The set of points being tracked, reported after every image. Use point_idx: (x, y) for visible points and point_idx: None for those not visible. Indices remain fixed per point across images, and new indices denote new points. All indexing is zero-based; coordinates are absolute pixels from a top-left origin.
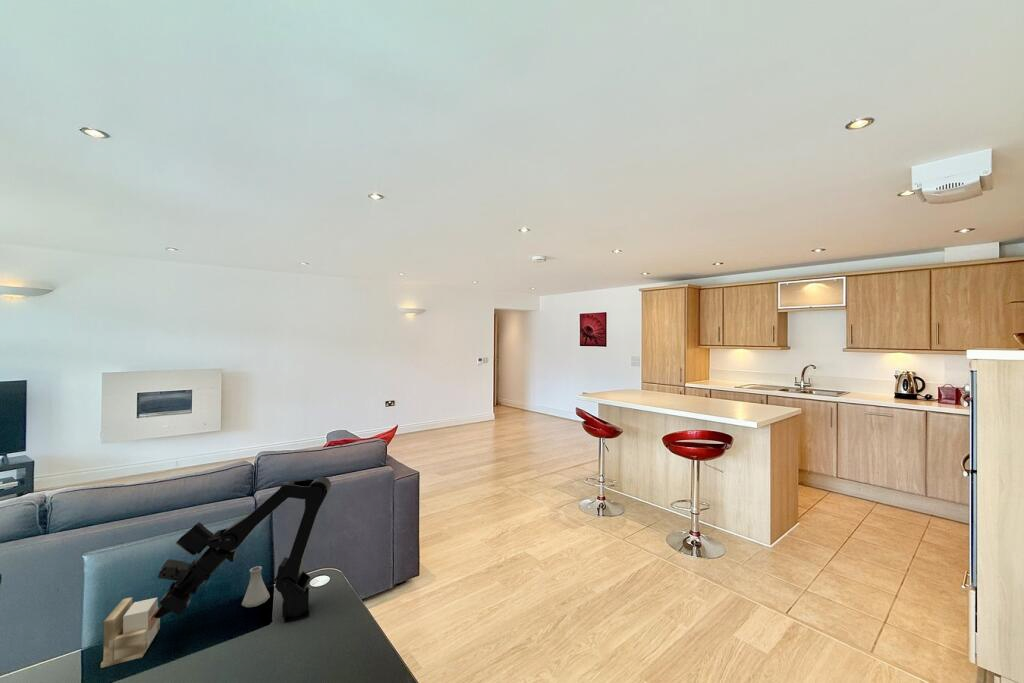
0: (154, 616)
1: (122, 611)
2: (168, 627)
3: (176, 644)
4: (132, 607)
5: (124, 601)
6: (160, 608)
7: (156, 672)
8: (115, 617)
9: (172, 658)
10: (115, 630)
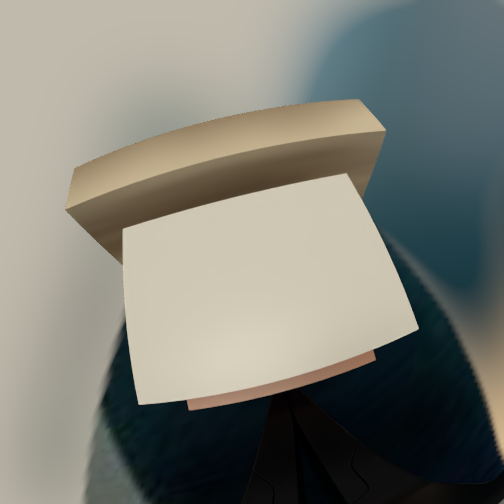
0: (272, 394)
1: (199, 177)
2: (389, 365)
3: (243, 477)
4: (260, 207)
5: (327, 115)
6: (259, 452)
7: (95, 463)
8: (82, 201)
9: (153, 492)
10: (122, 247)
